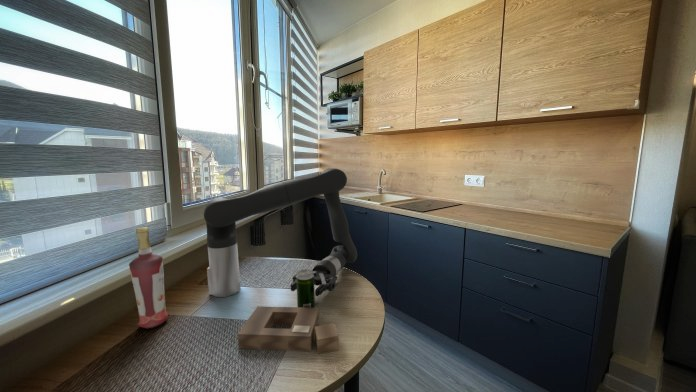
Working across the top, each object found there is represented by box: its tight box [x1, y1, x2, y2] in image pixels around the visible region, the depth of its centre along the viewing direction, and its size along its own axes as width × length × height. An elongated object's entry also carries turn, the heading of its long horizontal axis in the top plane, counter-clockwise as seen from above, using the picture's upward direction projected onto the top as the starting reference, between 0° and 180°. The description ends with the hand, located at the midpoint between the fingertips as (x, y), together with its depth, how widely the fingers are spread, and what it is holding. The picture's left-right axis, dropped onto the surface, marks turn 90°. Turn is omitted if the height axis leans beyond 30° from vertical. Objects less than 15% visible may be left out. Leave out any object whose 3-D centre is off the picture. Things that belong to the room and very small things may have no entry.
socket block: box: [237, 305, 320, 352], centre depth 69 cm, size 18×12×4 cm, turn 87°
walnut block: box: [314, 323, 339, 355], centre depth 64 cm, size 5×5×4 cm
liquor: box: [128, 226, 169, 330], centre depth 72 cm, size 7×7×28 cm
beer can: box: [296, 268, 316, 308], centre depth 79 cm, size 5×5×12 cm
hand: (303, 290), depth 78 cm, fingers open, 8 cm apart
